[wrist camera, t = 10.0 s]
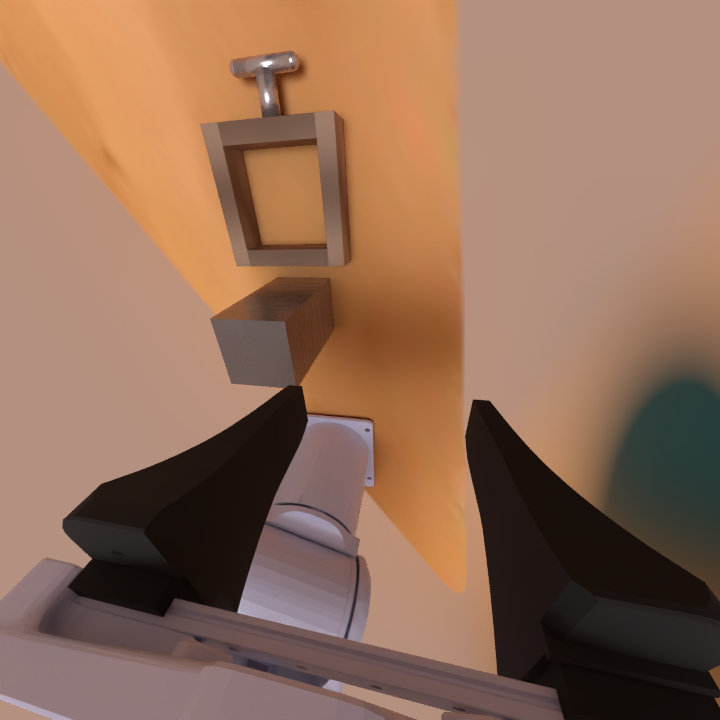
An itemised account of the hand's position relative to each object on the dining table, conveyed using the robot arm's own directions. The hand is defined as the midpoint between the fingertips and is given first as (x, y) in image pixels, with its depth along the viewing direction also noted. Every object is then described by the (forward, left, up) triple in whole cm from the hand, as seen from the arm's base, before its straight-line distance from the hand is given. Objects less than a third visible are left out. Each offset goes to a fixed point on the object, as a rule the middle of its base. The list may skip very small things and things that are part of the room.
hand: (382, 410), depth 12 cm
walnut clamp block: (+9, +7, -10) cm, 16 cm away
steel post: (+1, +7, -10) cm, 13 cm away
